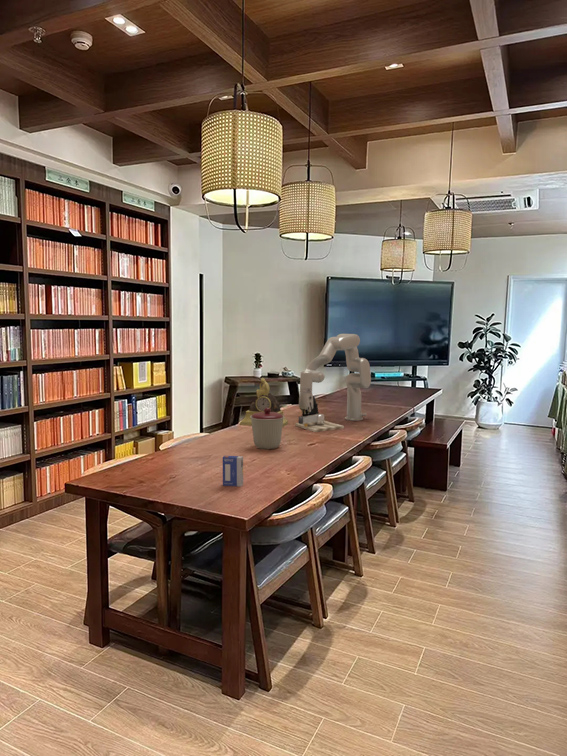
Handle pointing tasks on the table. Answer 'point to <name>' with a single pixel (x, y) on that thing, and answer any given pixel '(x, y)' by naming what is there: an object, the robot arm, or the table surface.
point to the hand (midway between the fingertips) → (305, 420)
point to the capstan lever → (312, 419)
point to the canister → (267, 429)
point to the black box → (314, 408)
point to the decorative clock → (263, 404)
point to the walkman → (233, 471)
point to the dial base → (319, 426)
